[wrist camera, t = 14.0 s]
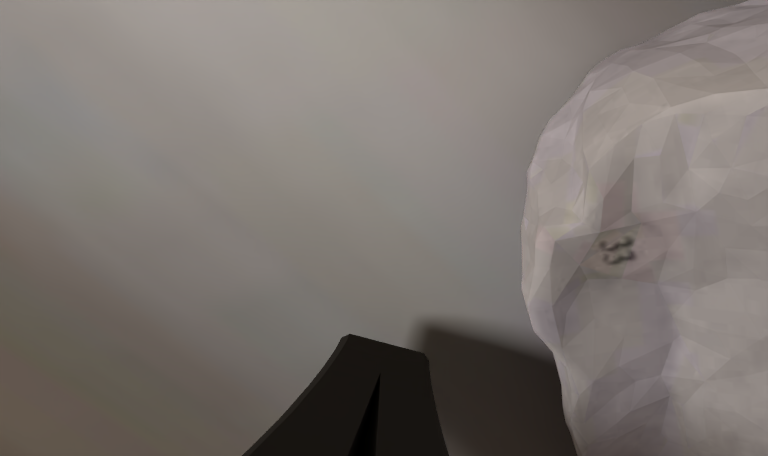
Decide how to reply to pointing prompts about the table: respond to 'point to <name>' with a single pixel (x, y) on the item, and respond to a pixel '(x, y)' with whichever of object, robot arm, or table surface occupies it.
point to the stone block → (659, 243)
